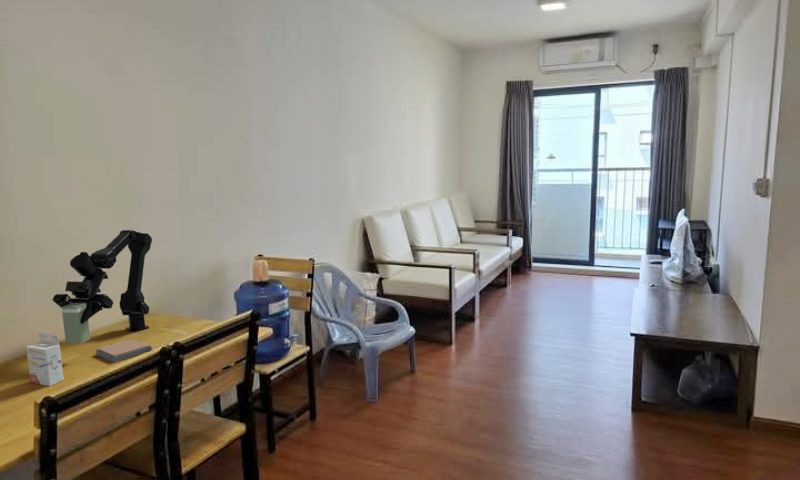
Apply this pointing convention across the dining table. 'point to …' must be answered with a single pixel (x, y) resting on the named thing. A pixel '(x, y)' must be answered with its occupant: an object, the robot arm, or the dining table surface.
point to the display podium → (123, 350)
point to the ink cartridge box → (45, 361)
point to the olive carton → (75, 323)
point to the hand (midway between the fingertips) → (73, 323)
